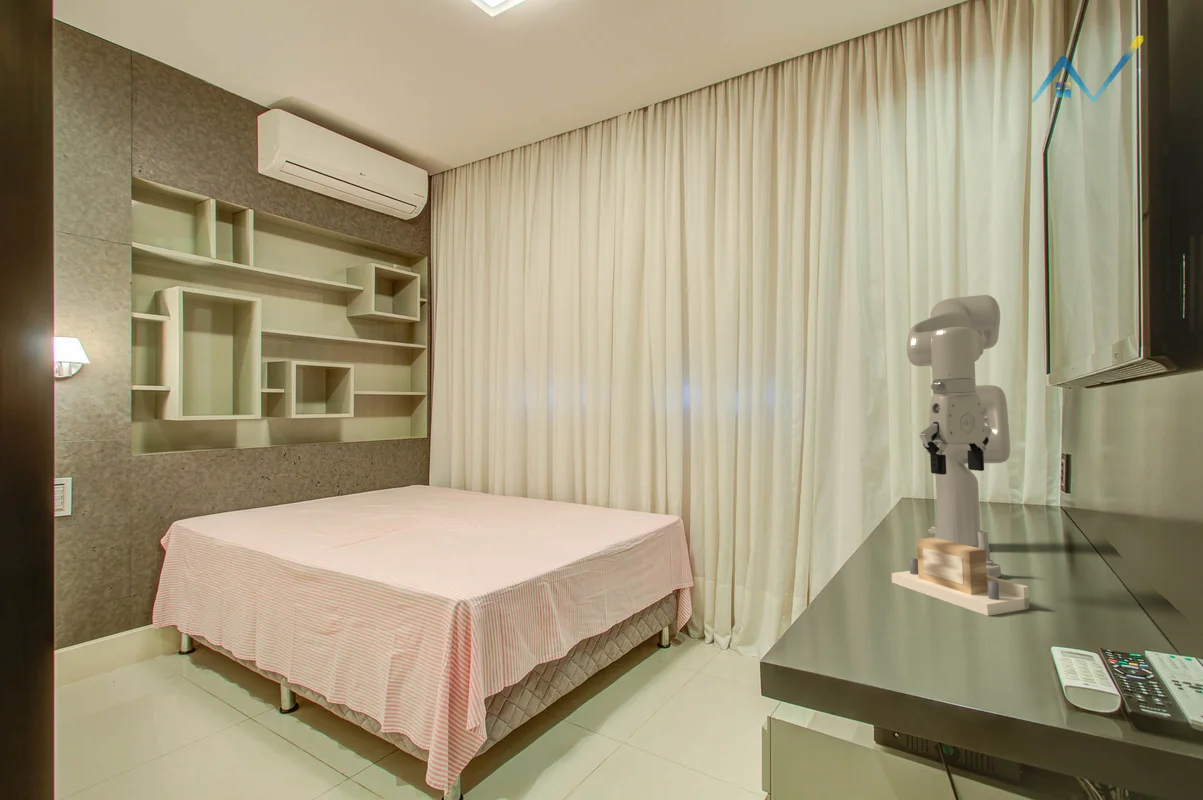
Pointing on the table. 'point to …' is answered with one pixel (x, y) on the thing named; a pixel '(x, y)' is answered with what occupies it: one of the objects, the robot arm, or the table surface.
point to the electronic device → (991, 567)
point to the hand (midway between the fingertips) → (957, 472)
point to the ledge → (995, 601)
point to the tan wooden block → (952, 565)
